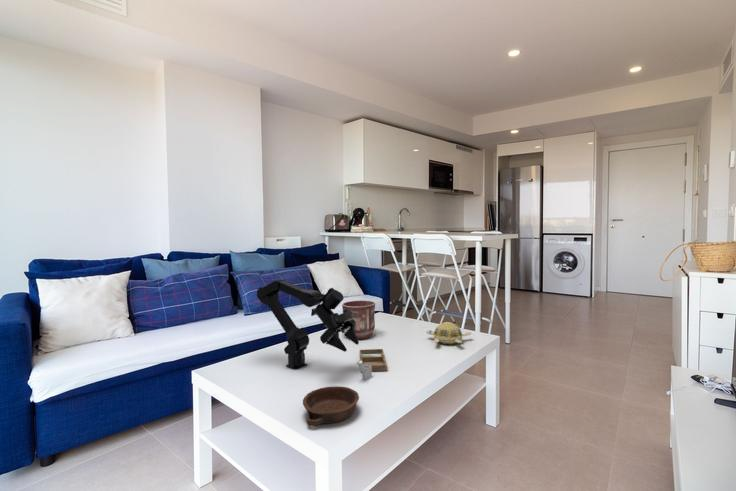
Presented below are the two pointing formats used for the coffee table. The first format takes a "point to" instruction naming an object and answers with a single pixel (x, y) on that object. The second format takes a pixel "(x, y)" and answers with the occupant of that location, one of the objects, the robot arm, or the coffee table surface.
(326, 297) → the robot arm
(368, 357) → the organiser
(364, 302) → the pottery
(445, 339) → the decorative figurine
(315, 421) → the dish
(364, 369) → the lighter
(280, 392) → the coffee table surface
